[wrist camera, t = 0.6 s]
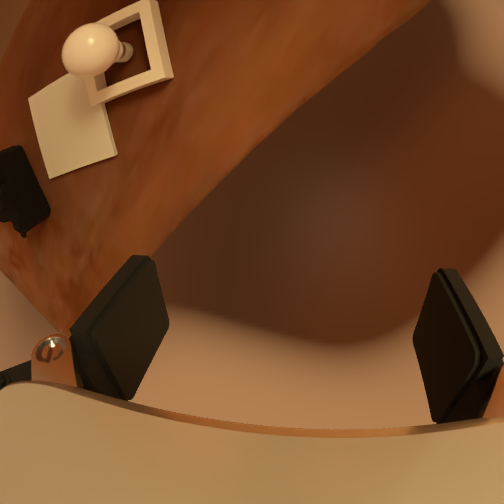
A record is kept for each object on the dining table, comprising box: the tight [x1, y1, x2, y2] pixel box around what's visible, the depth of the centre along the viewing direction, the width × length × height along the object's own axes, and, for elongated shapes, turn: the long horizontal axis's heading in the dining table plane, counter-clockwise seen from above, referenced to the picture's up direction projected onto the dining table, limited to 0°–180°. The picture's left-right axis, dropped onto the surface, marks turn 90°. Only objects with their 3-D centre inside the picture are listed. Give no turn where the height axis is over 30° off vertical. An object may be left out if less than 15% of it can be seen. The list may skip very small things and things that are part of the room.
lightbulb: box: [62, 23, 133, 78], centre depth 26 cm, size 6×6×11 cm
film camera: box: [0, 145, 50, 238], centre depth 39 cm, size 15×10×9 cm, turn 21°
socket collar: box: [85, 0, 174, 106], centre depth 30 cm, size 11×11×2 cm
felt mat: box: [28, 73, 118, 179], centre depth 36 cm, size 14×14×1 cm
